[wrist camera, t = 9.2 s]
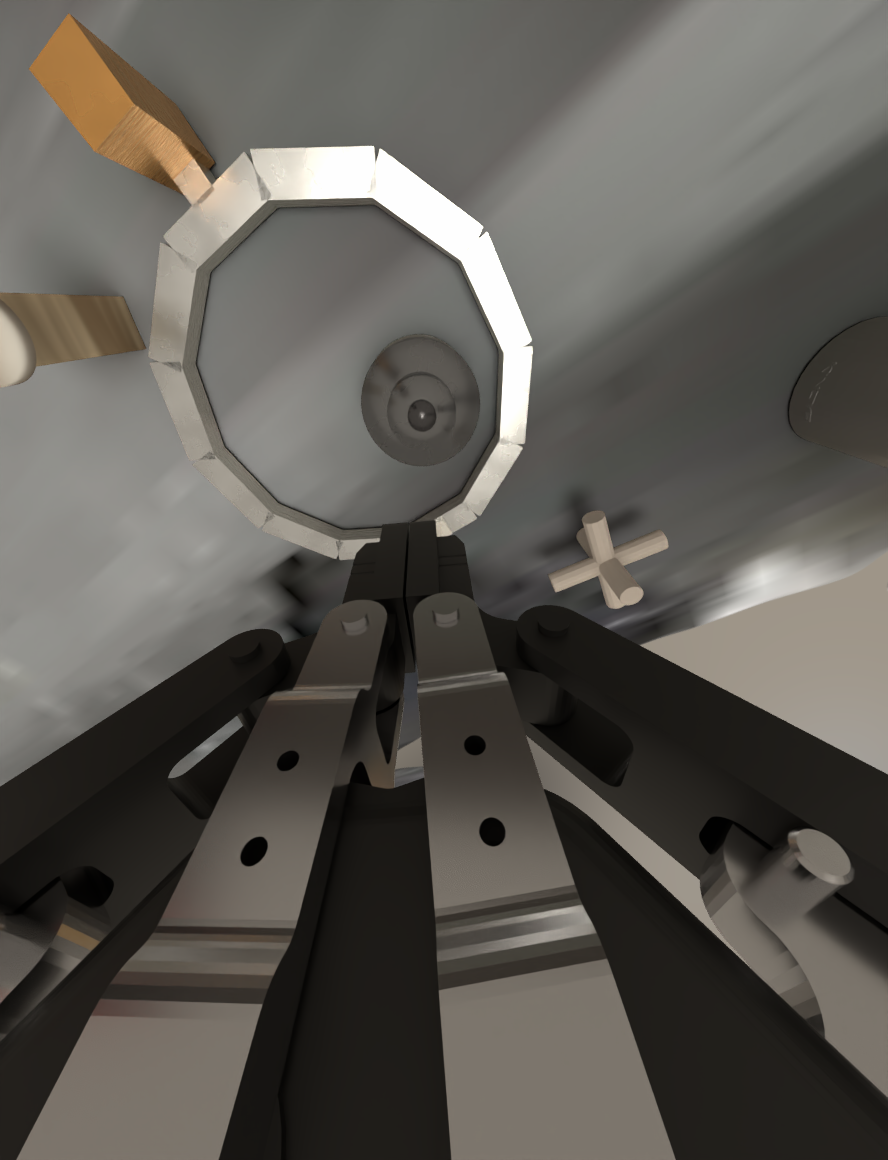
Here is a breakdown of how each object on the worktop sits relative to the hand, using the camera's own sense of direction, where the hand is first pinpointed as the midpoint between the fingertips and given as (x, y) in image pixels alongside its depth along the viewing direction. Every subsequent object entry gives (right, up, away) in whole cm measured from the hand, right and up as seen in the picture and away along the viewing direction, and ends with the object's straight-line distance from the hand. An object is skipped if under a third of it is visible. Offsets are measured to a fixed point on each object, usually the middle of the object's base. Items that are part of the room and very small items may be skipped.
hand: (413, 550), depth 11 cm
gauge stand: (-22, +17, +15) cm, 31 cm away
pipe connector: (+15, +4, +27) cm, 31 cm away
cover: (-1, +14, +19) cm, 24 cm away
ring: (-7, +14, +18) cm, 24 cm away
